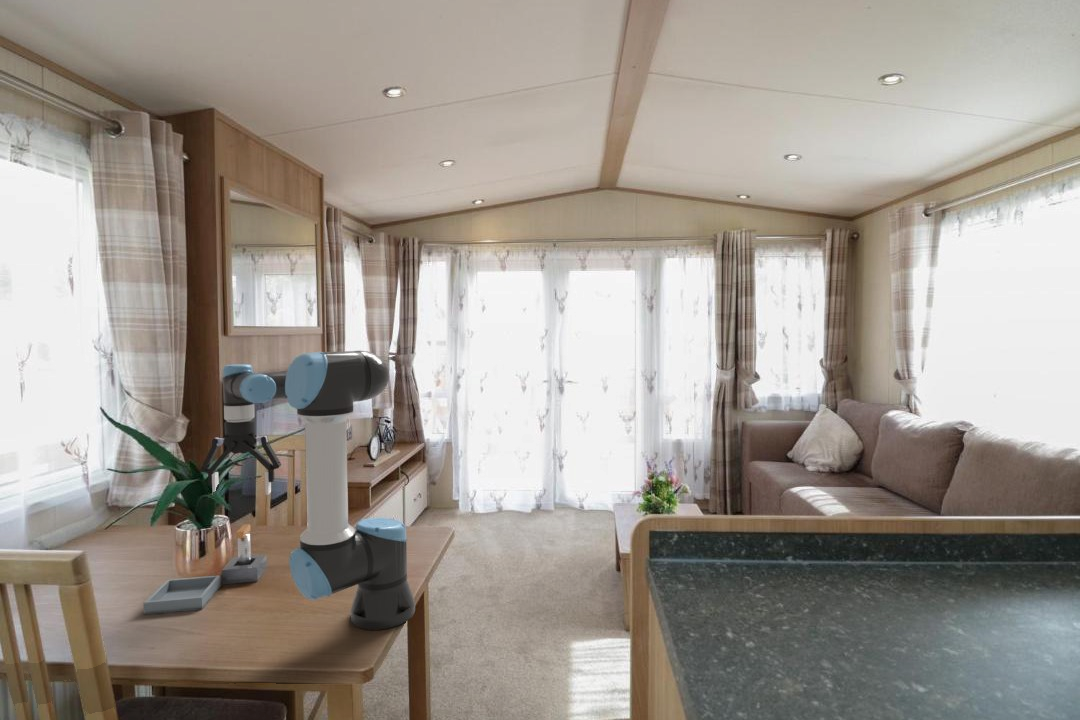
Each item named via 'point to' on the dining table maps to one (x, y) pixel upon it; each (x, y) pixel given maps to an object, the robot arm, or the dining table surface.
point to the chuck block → (244, 570)
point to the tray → (182, 595)
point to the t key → (244, 545)
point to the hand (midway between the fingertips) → (242, 494)
